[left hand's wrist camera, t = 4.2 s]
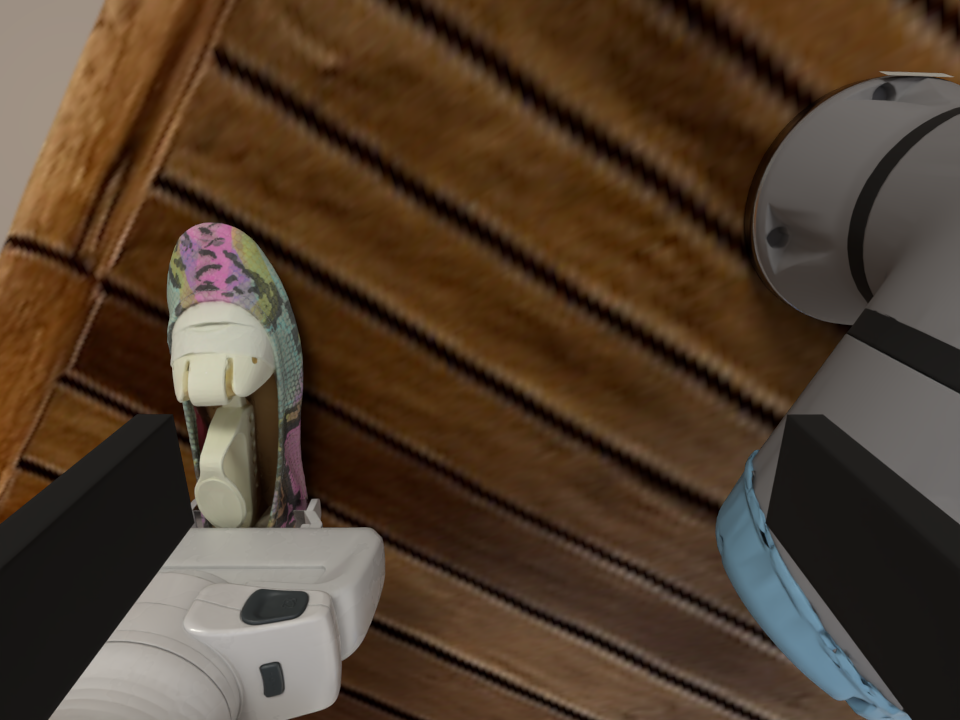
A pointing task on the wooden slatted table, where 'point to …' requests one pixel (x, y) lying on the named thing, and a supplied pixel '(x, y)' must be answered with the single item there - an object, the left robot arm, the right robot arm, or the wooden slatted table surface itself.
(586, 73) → the wooden slatted table surface
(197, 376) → the ballet flat
